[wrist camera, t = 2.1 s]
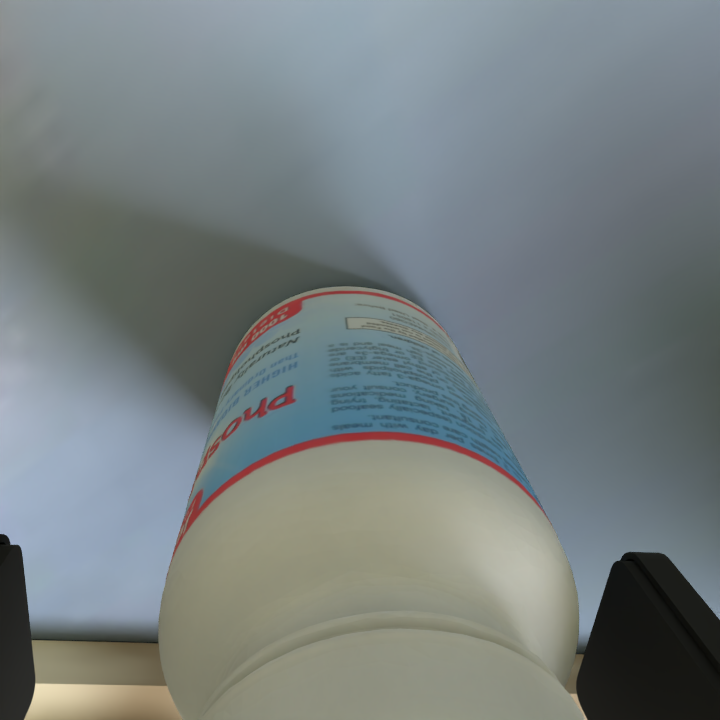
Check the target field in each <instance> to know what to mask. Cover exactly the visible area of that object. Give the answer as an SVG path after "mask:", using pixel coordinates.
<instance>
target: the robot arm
mask: <svg viewBox="0 0 720 720" xmlns="http://www.w3.org/2000/svg"><path fill="white" fill-rule="evenodd" d="M35 682H36V681H35V668H34V659H33V650H32V640H31V631H30V622H29V613H28V604H27V594H26V585H25V576H24V567H23V557H22V551H21V548H20V546H19V545H10V541H9V538H8V537H7V535H4V534H0V720H24V719H25V716H26V714H27V712H28V710H29V707H30V705H31V702H32V699H33V695H34V690H35ZM576 691H577V697H578V700H579V703H580V705H581V707H582V710H583V712H584V714H585V716H586V718H587V720H720V620H719V619H718V617H717V616H716V615H715V614H714V613H713V611H712V610H711V609H710V608H709V606H708V605H707V604H706V603H705V602H704V600H703V599H702V598H701V597H700V596H699V594H698V593H697V592H696V591H695V590H694V588H693V587H692V586H691V585H690V583H689V582H688V581H687V580H686V579H685V577H684V576H683V575H682V574H681V573H680V571H679V570H678V569H677V568H676V567H675V565H674V564H673V563H672V562H671V560H670V559H669V558H668V557H667V556H665V555H664V554H661V553H646V552H628V553H625V554H624V555H623V556H622V558H621V560H620V561H616V562H615V563H614V564H613V566H612V568H611V571H610V574H609V577H608V580H607V584H606V587H605V590H604V593H603V596H602V599H601V603H600V606H599V609H598V612H597V615H596V619H595V622H594V625H593V628H592V631H591V634H590V638H589V641H588V644H587V647H586V650H585V654H584V657H583V660H582V663H581V666H580V669H579V673H578V676H577V680H576Z"/></svg>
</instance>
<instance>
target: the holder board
mask: <svg viewBox="0 0 720 720" xmlns="http://www.w3.org/2000/svg"><path fill="white" fill-rule="evenodd" d="M32 650H33V659H34V668H35V681H36V682H35V690H34V695H33V699H32V702H31V705H30V707H29V710H28V712H27V714H26V716H25V719H24V720H183V719H182V717H181V715H180V714H179V712H178V710H177V708H176V706H175V704H174V702H173V699H172V697H171V695H170V692H169V690H168V687H167V684H166V681H165V678H164V674H163V670H162V665H161V660H160V652H159V643H127V642H88V641H49V640H32ZM583 657H584V654H576V655H575V660H574V663H573V666H572V670H571V673H570V676H569V678H568V680H567V683H566V685H565V687H564V688H565V690H566V691H567V692H568V693H569V694H570V695H571V696H572V698H573V700H574V701H575V703H576V704H577V706H578V708H579V709H580V711H581V712H582V714H583V716H584V719H585V720H587V718H586V716H585V714H584V712H583V710H582V707H581V705H580V703H579V700H578V697H577V691H576V680H577V676H578V673H579V669H580V666H581V663H582V660H583Z"/></svg>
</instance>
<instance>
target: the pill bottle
mask: <svg viewBox="0 0 720 720" xmlns="http://www.w3.org/2000/svg"><path fill="white" fill-rule="evenodd" d="M578 635H579V605H578V596H577V590H576V586H575V582H574V578H573V574H572V570H571V568H570V565H569V562H568V559H567V557H566V555H565V552H564V550H563V548H562V546H561V544H560V542H559V539H558V537H557V534H556V532H555V530H554V528H553V526H552V524H551V523H550V521H549V519H548V518H547V516H546V514H545V512H544V510H543V508H542V506H541V504H540V502H539V500H538V498H537V496H536V495H535V493H534V491H533V489H532V487H531V485H530V483H529V481H528V480H527V478H526V476H525V474H524V472H523V470H522V468H521V466H520V465H519V463H518V461H517V459H516V457H515V455H514V454H513V452H512V450H511V448H510V446H509V444H508V443H507V441H506V439H505V437H504V435H503V433H502V431H501V430H500V428H499V426H498V424H497V422H496V420H495V418H494V417H493V415H492V413H491V411H490V409H489V407H488V405H487V403H486V402H485V400H484V398H483V396H482V394H481V392H480V390H479V389H478V387H477V385H476V383H475V381H474V379H473V377H472V376H471V374H470V372H469V370H468V368H467V366H466V364H465V363H464V361H463V359H462V357H461V355H460V353H459V352H458V350H457V348H456V346H455V345H454V343H453V342H452V340H451V338H450V337H449V336H448V334H447V333H446V331H445V330H444V329H443V327H442V326H441V325H440V324H439V323H438V322H437V321H436V320H435V319H434V318H433V317H432V316H431V315H430V314H429V313H428V312H426V311H425V310H424V309H422V308H421V307H419V306H418V305H416V304H414V303H413V302H411V301H409V300H407V299H405V298H403V297H400V296H398V295H395V294H393V293H390V292H386V291H382V290H378V289H371V288H364V287H352V286H341V287H328V288H320V289H315V290H311V291H307V292H304V293H301V294H298V295H295V296H293V297H291V298H288V299H286V300H284V301H283V302H281V303H279V304H277V305H276V306H274V307H273V308H271V309H270V310H269V311H267V312H266V313H265V314H264V315H263V316H261V317H260V318H259V319H258V320H257V321H256V322H255V323H254V324H253V325H252V326H251V327H250V329H249V330H248V331H247V333H246V334H245V335H244V337H243V338H242V340H241V341H240V343H239V345H238V347H237V348H236V350H235V352H234V355H233V357H232V359H231V362H230V365H229V368H228V371H227V374H226V377H225V380H224V383H223V387H222V390H221V393H220V397H219V401H218V404H217V408H216V411H215V415H214V418H213V421H212V424H211V428H210V431H209V434H208V438H207V441H206V444H205V448H204V451H203V455H202V458H201V461H200V465H199V468H198V471H197V475H196V478H195V481H194V484H193V487H192V491H191V494H190V497H189V500H188V505H187V508H186V512H185V516H184V519H183V522H182V526H181V528H180V532H179V535H178V538H177V542H176V546H175V549H174V552H173V556H172V560H171V563H170V566H169V570H168V573H167V578H166V583H165V587H164V591H163V595H162V601H161V607H160V614H159V630H158V642H159V652H160V660H161V665H162V670H163V674H164V678H165V681H166V684H167V687H168V690H169V692H170V695H171V697H172V699H173V702H174V704H175V706H176V708H177V710H178V712H179V714H180V715H181V717H182V719H183V720H585V719H584V716H583V714H582V712H581V711H580V709H579V708H578V706H577V704H576V703H575V701H574V700H573V698H572V696H571V695H570V694H569V693H568V692H567V691H566V690H565V688H564V687H565V685H566V683H567V680H568V678H569V676H570V673H571V670H572V666H573V663H574V660H575V655H576V650H577V644H578Z"/></svg>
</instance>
